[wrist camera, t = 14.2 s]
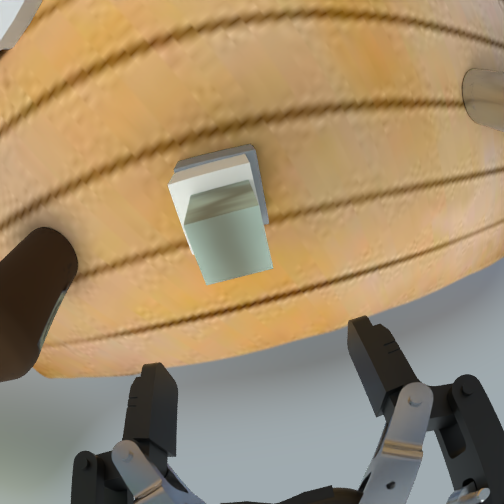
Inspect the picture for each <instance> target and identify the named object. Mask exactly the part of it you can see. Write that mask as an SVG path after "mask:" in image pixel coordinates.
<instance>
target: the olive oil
mask: <svg viewBox="0 0 504 504" xmlns="http://www.w3.org/2000/svg"><path fill="white" fill-rule="evenodd" d="M76 273H77V258H76V255H75V252H74V250H73V248H72V246H71V245H70V243H69V242H68V241H67V240H66V239H65V238H64V237H63V236H62V235H61V234H60V233H58V232H57V231H55V230H53V229H50V228H38V229H36V230H34V231H33V232H31V233H30V234H29V235H28V236H27V237H26V238H25V239H24V240H23V241H21V242H20V243H19V244H18V245H17V246H16V247H15V248H14V249H13V250H12V251H11V252H10V253H9V254H8V255H7V256H6V257H5V258H4V259H3V260H2V261H1V262H0V382H3V381H9V380H14V379H18V378H20V377H22V376H24V375H25V374H26V373H27V372H28V371H29V370H30V369H31V368H32V367H33V366H34V364H35V363H36V361H37V359H38V357H39V354H40V351H41V349H42V346H43V343H44V341H45V338H46V336H47V333H48V331H49V329H50V326H51V324H52V322H53V319H54V317H55V315H56V313H57V311H58V308H59V306H60V304H61V302H62V300H63V298H64V296H65V294H66V292H67V290H68V288H69V287H70V285H71V283H72V281H73V279H74V277H75V275H76Z"/></svg>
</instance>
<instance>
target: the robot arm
mask: <svg viewBox="0 0 504 504" xmlns="http://www.w3.org/2000/svg"><path fill="white" fill-rule="evenodd" d="M463 99H464V104H465V107H466V110H467V112H468V114H469V116H470V117H471V118H472V120H473V121H474V122H476V123H478V124H480V125H484V126H487V127H490V128H493V129H496V130H499V131H502V132H504V72H497V71H491V70H482V69H471V70H469V71H468V72H467V73H466V75H465V77H464V81H463ZM347 345H348V350H349V354H350V356H351V359H352V361H353V363H354V366H355V368H356V370H357V372H358V375H359V377H360V379H361V382H362V384H363V386H364V389H365V391H366V394H367V396H368V398H369V401H370V403H371V405H372V408H373V411H374V413H375V415H376V417H378V416H381V415H384V417H385V420H386V423H385V426H384V429H383V432H382V435H381V438H380V440H379V443H378V446H377V448H376V451H375V453H374V456H373V458H372V460H371V463H370V465H369V466H368V468H367V471H366V473H365V475H364V477H363V479H362V481H361V483H360V485H359V488H358V490H354V489H348V488H332V485H331V486H327V487H323V488H319V489H315V490H311V491H307V492H303V493H301V494H299V495H297V496H294V497H292V498H290V499H287V500H285V501H282V502H280V503H276V504H406V501H407V499H408V497H409V494H410V492H411V489H412V487H413V484H414V481H415V479H416V476H417V473H418V470H419V467H420V464H421V461H422V457H423V451H422V445H423V441H424V437H425V434H426V432H427V431H432V430H434V432H435V434H436V437H437V439H438V442H439V445H440V447H441V451H442V453H443V456H444V459H445V462H446V465H447V468H448V471H449V474H450V477H451V480H452V484H453V487H454V492H453V493H452V494H451V495H450V497H449V498H448V501H447V503H446V504H504V431H503V428H502V426H501V424H500V421H499V419H498V417H497V415H496V413H495V411H494V409H493V406H492V405H491V402H490V400H489V398H488V397H487V394H486V393H485V391H484V389H483V387H482V385H481V383H480V381H479V380H478V379H477V378H476V377H475V376H472V375H469V374H466V375H462V376H460V377H458V378H457V379H456V380H455V382H454V383H453V384H447V385H441V386H428V385H426V384H423V383H422V382H420V381H419V380H418V379H417V377H416V375H415V374H414V372H413V370H412V368H411V367H410V365H409V363H408V361H407V359H406V358H405V356H404V354H403V352H402V351H401V350H400V347H399V346H398V344H397V342H396V341H395V339H394V337H393V336H392V334H391V332H390V331H389V330H388V329H387V328H385V327H384V326H382V325H381V324H378V325H375V326H372V324H371V322H370V320H369V318H368V317H367V316H362V317H359V318H356V319H352V320H349V321H348V339H347ZM177 403H178V388H177V384H176V382H175V380H174V379H173V378H172V376H171V375H170V374H169V372H168V371H167V370H166V368H165V367H164V366H163V364H162V363H152V364H145V365H143V367H142V372H141V377H136V379H135V380H134V382H133V384H132V386H131V388H130V393H129V400H128V408H127V412H126V419H125V427H124V434H123V438H122V441H120V442H118V443H117V444H116V445H115V446H114V448H113V450H112V451H109V452H105V453H102V454H98V455H95V454H93V453H91V452H89V451H82V452H80V453H78V454H77V456H76V457H75V459H74V465H73V476H72V491H71V504H206V503H205V502H204V501H203V500H202V499H200V498H199V497H198V496H196V495H195V494H194V493H193V492H191V490H190V489H189V488H188V487H187V486H186V485H185V484H184V483H183V481H182V480H181V479H180V478H179V477H178V475H177V474H176V473H175V472H174V470H173V469H172V468H171V467H170V466H169V464H168V463H167V457H176V430H177ZM133 497H135V500H134V498H133ZM221 504H271V503H258V502H248V501H246V502H234V503H221Z"/></svg>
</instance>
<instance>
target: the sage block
mask: <svg viewBox="0 0 504 504" xmlns="http://www.w3.org/2000/svg"><path fill="white" fill-rule="evenodd" d="M183 226H184V229H185V231H186V234H187V237H188V239H189V242H190V244H191V247H192V250H193V252H194V255H195V257H196V260H197V262H198V265H199V267H200V270H201V272H202V275H203V277H204V280H205V282H206V285H210V284H214V283H218V282H222V281H226V280H230V279H234V278H238V277H242V276H245V275H249V274H253V273H257V272H261V271H265V270H269V269H273V265H272V260H271V256H270V252H269V247H268V243H267V238H266V234H265V230H264V225H263V221H262V217H261V213H260V208H259V205H258V202H257V200H256V197H255V194H254V192H253V189H252V187H251V184H250V182H249V180H245V181H241V182H237V183H233V184H229V185H226V186H222V187H218V188H215V189H211V190H207V191H204V192H200V193H197V194H193V195H191V196H190V200H189V204H188V208H187V212H186V217H185V221H184V225H183Z"/></svg>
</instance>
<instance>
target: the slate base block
mask: <svg viewBox="0 0 504 504" xmlns="http://www.w3.org/2000/svg"><path fill="white" fill-rule="evenodd" d="M242 154H245V155H246V157H247V159H248V161H249V162H250V167H251V171H252V175H253V180H254V184H255V189H256V193H257V197H258V202H259V206H260V211H261V215H262V220H263V224H269V219H268V214H267V208H266V203H265V197H264V192H263V187H262V181H261V176H260V171H259V166H258V161H257V155H256V150H255V149H254V147H253V146H252V145H251V144H248V145H243V146H239V147H234V148H229V149H225V150H221V151H216V152H212V153H208V154H204V155H200V156H196V157H192V158H189V159H185V160H181V161H178V163H177V165H176V166H175V168H174V172H175V173H176V172H179V171H182V170H186V169H189V168H192V167H196V166H199V165H203V164H207V163H210V162H214V161H218V160H222V159H226V158H230V157H234V156H238V155H242Z"/></svg>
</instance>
